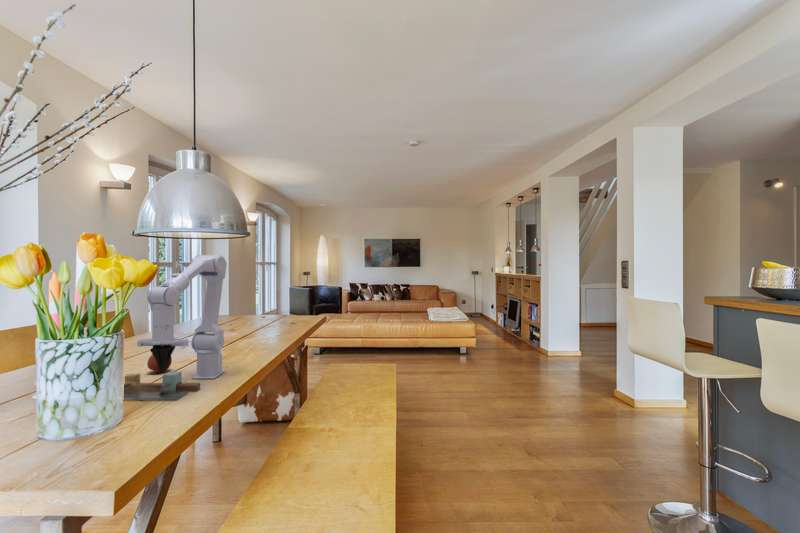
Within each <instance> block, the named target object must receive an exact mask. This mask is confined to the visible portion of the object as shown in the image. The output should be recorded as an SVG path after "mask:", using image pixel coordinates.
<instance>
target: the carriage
mask: <svg viewBox="0 0 800 533" xmlns="http://www.w3.org/2000/svg"><path fill="white" fill-rule="evenodd" d="M182 373H183V372H182V371H168V372H166V373H164V374H162V383H163V385H162V386H161V389H160V393H163V390H176V384H178V383H183V378H182V376H183V375H182Z"/></svg>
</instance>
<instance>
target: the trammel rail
mask: <svg viewBox="0 0 800 533" xmlns="http://www.w3.org/2000/svg"><path fill="white" fill-rule="evenodd" d="M123 384H124V390H160V389H161V386H162V385H163V382H141V373H129V374H127V375H125V376H124V383H123ZM176 390H188V393H189V392H190V393H191V392H198V391H200V390H201V382H182V383H178V384H176Z"/></svg>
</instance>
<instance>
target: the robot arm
mask: <svg viewBox="0 0 800 533" xmlns="http://www.w3.org/2000/svg"><path fill="white" fill-rule="evenodd" d="M227 265H228V264H227V261H226V259H225V256H224V255H222V254H218V255H217V254H215V255H214V254H213V255H211V254H207V255H206V254H205V255H203V254H202V255H201V254H196V255H195V256H194V257H193V258H192V259H191V263H190V264H189V265H188V266H187V267H186V268H185V269H184V270H183V271H182V272H181V273H178V272H177V273H172V274H171V277H169V278H168V279H166V281H164V282H162V284H161V285H160V286H154V287H153V288H151V289H150V290H149V292H148V295H147V297H146V298H147V303H149V307H150V308H149V309H150V311H151V316H152V317H151V321H152V323H151V324H152V327H151V328H152V329H151V330H152V333H151V335H152V338H141V339H138V340H137V343H136V345H137V347H151V348H150V349H149V350H150V352H151V355H152V354H153V355H154V357H155V359H156V361H157V364H158V367H159V370H165V369H167V366H168V362H169V359H170V357H172V355H173V352H174V350H175V348H176V347H182V348H183V347H184V348H187V347H188V346H189V338H187V339H186V338H175V337H174V336H175V334H174V332H175V330H174V329H175V328H174V327H175V322H174V319H175V318H174V317H175V315H174V313H175V312H174V310H175V309H174V307H175V304H177V303H178V300H179V297H180V296H181V294H182V293H183V292H184V291H185V290H187V288H188V287H189V286H190V281H192V280H193V279H194V278H195V277H197V276H198V275H199V276H200V277H201V278H203V279H205V281H206V283H207V284H206V289H205V290H206V291H205V298H204V305H203V312H202V320H201V324H200V325H199V326H197V327H196V328H195V329H194V332H193V336H192V338H191V341H190V344H191V348H192V350H194V353H196V374H195V375H194V376H192V377H191V378H192V379H194V380H196V379H197V380H204V379H205V380H210V379H211V380H214V379H216V378H217V377H219V376H221V375H222V374H224V373H225V370H224V369H223V354H222V352H221V350H222V348H223V347H224V345H225V337H224V335H225V334H224V333H225V331H224V329H222V328H221V327H220V326H219V325H218V322H219V314H220V307H221V300H222V291H223V284H224V280H225V278H226V273H227V272H226V271H227ZM167 370H168V369H167Z"/></svg>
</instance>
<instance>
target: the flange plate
mask: <svg viewBox="0 0 800 533" xmlns="http://www.w3.org/2000/svg"><path fill="white" fill-rule="evenodd" d="M187 394H189V392H188V390H163V393H160V390H124V401H125V400H126V401H127V400H144V401H143V402H145V400H146V401H151V402H152V401H154V402H155V401H168V402H169V401H170V402H171V401H178V400H180V399H181V398H183V397H185V396H186V395H187ZM124 401H123V402H124ZM127 402H128V401H127Z"/></svg>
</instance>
